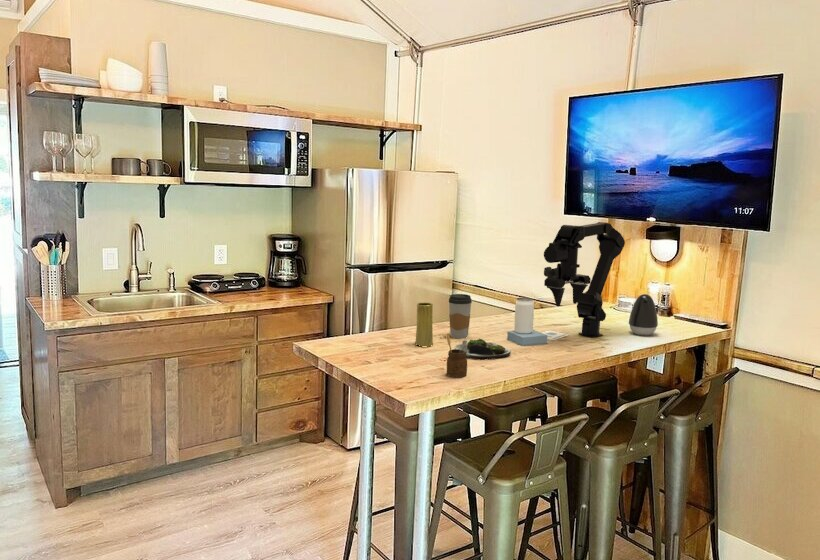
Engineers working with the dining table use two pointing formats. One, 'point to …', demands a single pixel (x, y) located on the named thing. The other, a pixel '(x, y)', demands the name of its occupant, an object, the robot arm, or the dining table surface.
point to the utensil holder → (456, 361)
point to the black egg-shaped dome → (643, 316)
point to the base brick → (527, 338)
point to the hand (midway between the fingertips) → (566, 304)
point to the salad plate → (483, 350)
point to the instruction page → (554, 335)
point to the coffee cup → (459, 315)
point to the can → (524, 315)
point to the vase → (424, 324)
